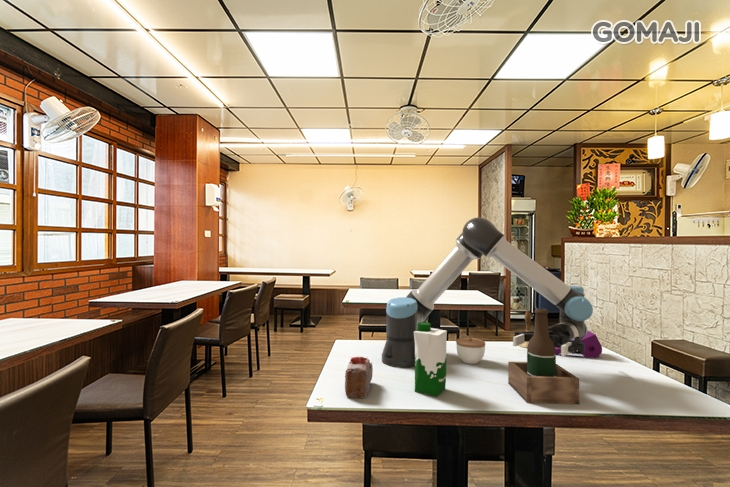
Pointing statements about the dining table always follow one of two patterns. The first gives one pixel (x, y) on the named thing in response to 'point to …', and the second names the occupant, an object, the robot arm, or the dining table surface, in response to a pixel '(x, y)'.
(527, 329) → the hand bell
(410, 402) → the dining table surface
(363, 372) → the food item
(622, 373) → the butter knife
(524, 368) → the walnut box
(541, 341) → the beer bottle
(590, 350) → the mounting bracket
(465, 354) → the lidded jar
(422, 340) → the milk carton
